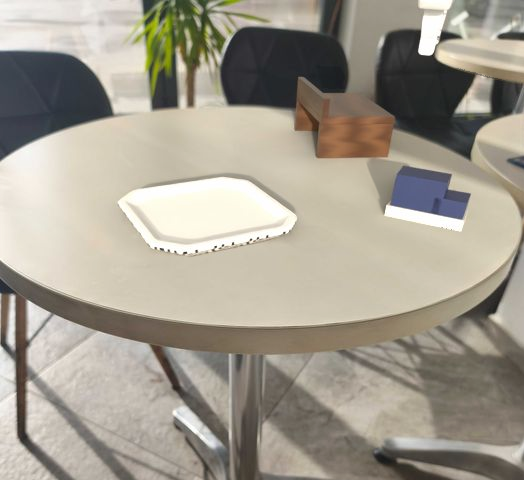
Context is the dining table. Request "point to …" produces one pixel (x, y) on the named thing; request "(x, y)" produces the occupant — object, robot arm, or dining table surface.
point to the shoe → (427, 199)
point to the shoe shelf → (343, 122)
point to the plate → (205, 215)
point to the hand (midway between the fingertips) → (428, 49)
